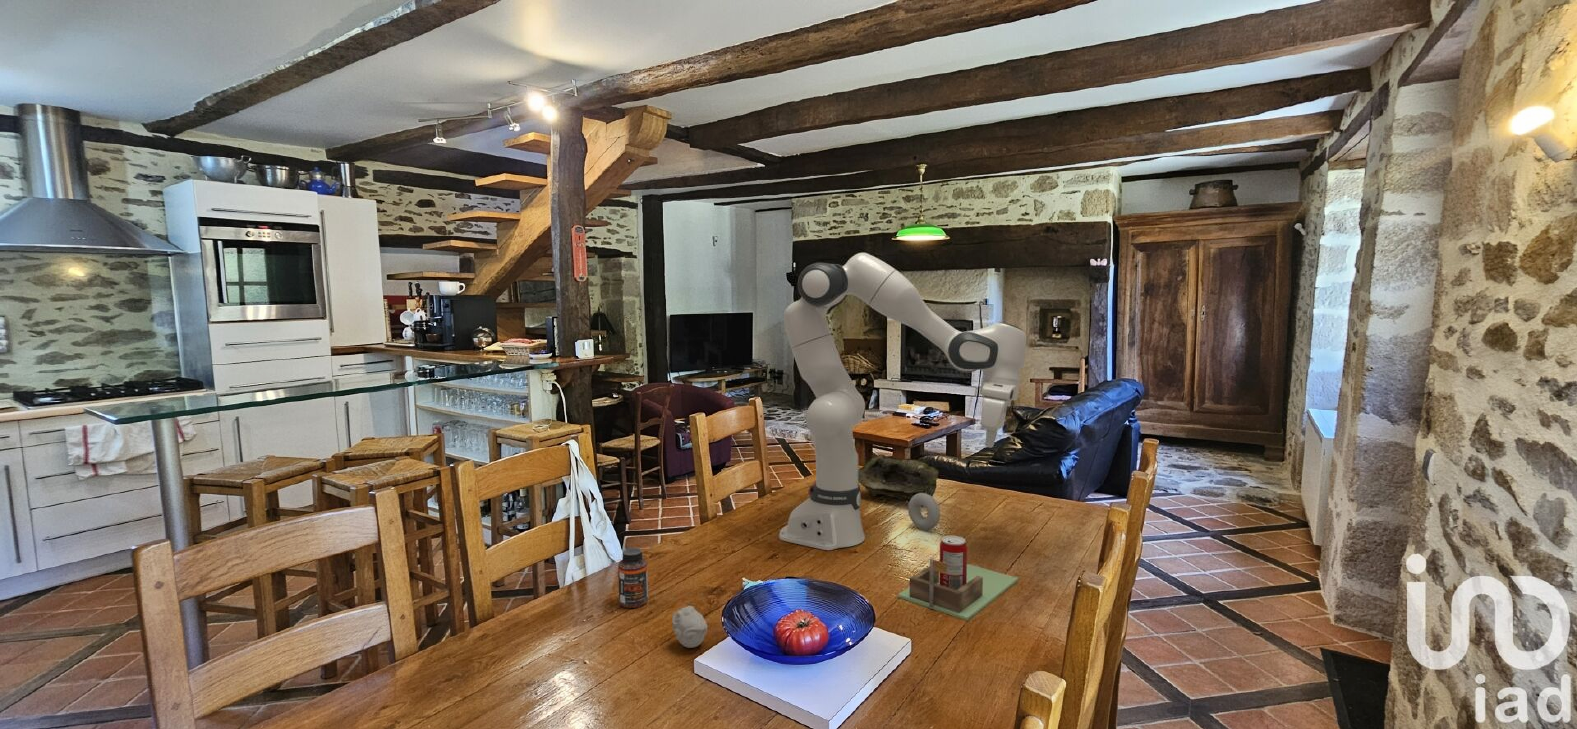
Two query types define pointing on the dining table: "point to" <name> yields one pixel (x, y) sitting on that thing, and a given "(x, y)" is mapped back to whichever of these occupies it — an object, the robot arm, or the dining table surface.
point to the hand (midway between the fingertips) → (989, 447)
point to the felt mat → (991, 590)
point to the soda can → (953, 561)
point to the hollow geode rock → (898, 477)
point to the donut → (930, 506)
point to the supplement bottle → (632, 579)
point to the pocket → (943, 589)
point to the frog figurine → (689, 626)
